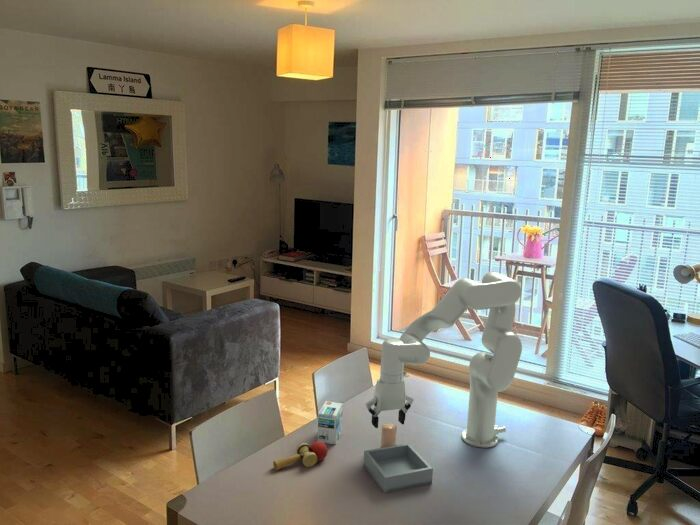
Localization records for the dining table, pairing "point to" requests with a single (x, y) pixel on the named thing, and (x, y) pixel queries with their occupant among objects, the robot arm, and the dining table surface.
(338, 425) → the light bulb box
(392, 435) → the beige rounded capsule
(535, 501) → the dining table surface
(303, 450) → the kendama
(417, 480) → the bin
